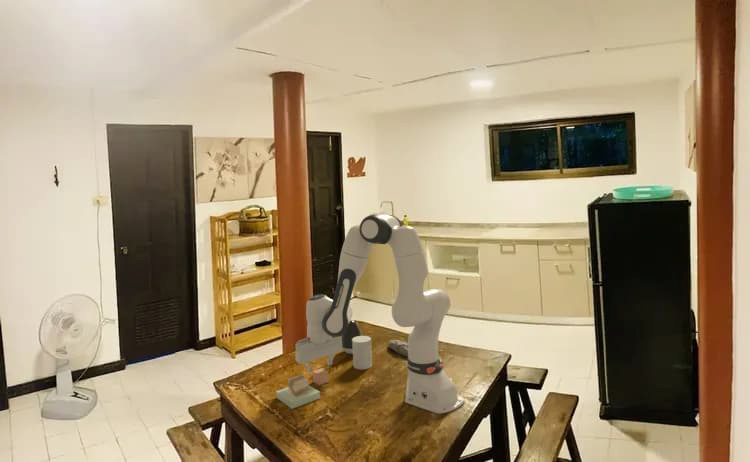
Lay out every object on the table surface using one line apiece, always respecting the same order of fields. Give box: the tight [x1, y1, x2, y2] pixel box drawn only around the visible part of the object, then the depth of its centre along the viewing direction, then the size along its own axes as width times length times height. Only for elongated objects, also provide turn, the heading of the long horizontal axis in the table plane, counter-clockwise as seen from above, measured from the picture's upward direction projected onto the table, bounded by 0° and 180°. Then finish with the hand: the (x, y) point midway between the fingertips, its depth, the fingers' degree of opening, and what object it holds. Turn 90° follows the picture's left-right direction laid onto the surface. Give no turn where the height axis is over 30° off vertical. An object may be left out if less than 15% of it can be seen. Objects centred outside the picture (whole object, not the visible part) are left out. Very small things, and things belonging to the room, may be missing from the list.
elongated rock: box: [388, 339, 444, 367], centre depth 218 cm, size 35×5×10 cm
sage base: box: [275, 384, 321, 410], centre depth 182 cm, size 12×12×3 cm
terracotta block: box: [312, 367, 330, 386], centre depth 195 cm, size 4×4×4 cm
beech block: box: [287, 374, 309, 397], centre depth 181 cm, size 6×6×5 cm
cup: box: [352, 335, 373, 370], centre depth 209 cm, size 8×8×12 cm
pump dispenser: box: [341, 319, 363, 355], centre depth 225 cm, size 10×10×15 cm
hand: (319, 367), depth 196 cm, fingers open, 8 cm apart
